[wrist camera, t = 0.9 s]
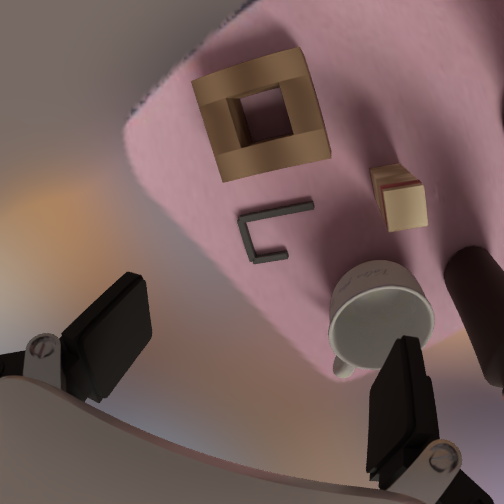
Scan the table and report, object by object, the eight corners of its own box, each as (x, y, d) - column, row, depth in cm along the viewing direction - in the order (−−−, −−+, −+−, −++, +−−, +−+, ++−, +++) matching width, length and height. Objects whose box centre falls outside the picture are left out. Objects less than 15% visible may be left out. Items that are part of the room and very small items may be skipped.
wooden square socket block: (304, 55, 26) (299, 46, 22) (331, 151, 29) (331, 158, 25) (209, 83, 29) (190, 81, 25) (236, 172, 33) (222, 182, 29)
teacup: (373, 229, 32) (383, 264, 25) (437, 284, 32) (455, 327, 25) (296, 311, 38) (286, 356, 31) (359, 353, 39) (359, 399, 32)
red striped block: (399, 163, 28) (423, 184, 20) (404, 194, 29) (428, 225, 21) (369, 168, 29) (382, 191, 21) (374, 199, 30) (388, 232, 22)
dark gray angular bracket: (312, 200, 32) (312, 202, 31) (323, 250, 34) (323, 253, 33) (237, 215, 35) (235, 218, 34) (252, 261, 37) (250, 264, 36)
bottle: (468, 233, 29) (557, 358, 11) (500, 263, 29) (578, 384, 11) (432, 278, 32) (484, 421, 15) (466, 304, 32) (518, 436, 15)
